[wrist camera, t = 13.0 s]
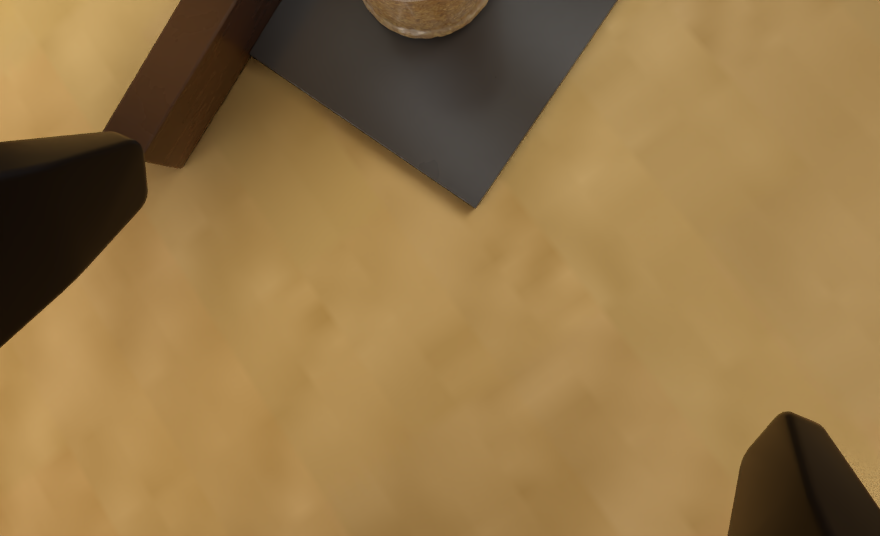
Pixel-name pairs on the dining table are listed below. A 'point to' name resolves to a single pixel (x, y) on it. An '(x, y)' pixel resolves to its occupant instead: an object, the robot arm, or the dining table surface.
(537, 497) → the dining table surface
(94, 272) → the dining table surface
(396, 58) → the corner guide
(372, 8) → the sprinkles bottle
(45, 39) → the dining table surface
